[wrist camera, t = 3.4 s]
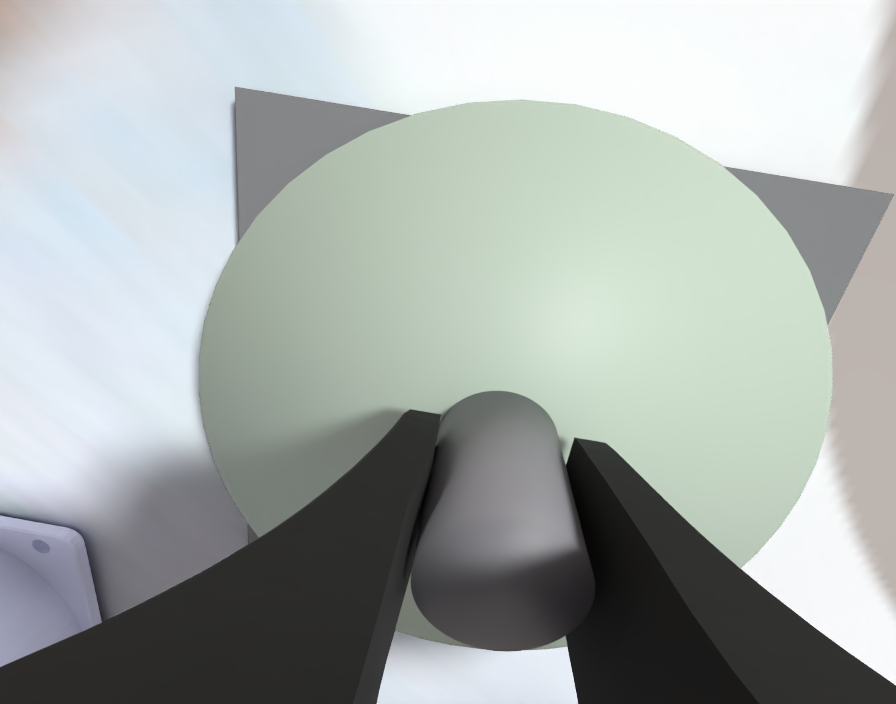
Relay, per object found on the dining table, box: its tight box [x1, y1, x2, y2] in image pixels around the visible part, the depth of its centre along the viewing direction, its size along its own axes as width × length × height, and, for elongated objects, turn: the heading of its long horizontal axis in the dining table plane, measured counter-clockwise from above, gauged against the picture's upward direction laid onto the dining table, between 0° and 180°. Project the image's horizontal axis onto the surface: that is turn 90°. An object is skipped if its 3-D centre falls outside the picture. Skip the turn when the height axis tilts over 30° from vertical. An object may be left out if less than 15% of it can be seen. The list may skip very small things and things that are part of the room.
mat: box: [235, 87, 894, 544], centre depth 11 cm, size 12×12×1 cm
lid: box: [199, 100, 833, 651], centre depth 9 cm, size 13×13×4 cm
